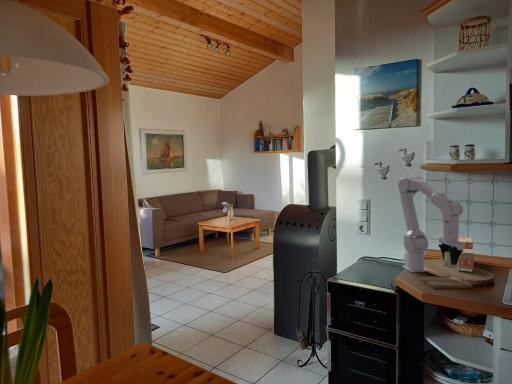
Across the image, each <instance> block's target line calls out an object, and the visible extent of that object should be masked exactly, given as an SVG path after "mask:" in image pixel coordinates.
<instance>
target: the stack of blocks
mask: <svg viewBox="0 0 512 384" xmlns="http://www.w3.org/2000/svg"><path fill="white" fill-rule="evenodd" d="M458 241H461V243H460V244H462V245H463V252H462V253H461V255H460V257H459V259H458V264H457V268H458V267H459V268H465V269H473V270H474V265H475V251H474V249H473V248H474V242H473V240H472V237H468V236H467V237H466V236H465V237H464V236H458Z"/></svg>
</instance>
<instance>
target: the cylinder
mask: <svg viewBox="0 0 512 384" xmlns="http://www.w3.org/2000/svg"><path fill="white" fill-rule="evenodd" d="M443 262H444V263H443V266H444V267H445V268H450V269H458V264H457V265H451V259H450V253H449V251H445V256H444V260H443Z"/></svg>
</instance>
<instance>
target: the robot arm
mask: <svg viewBox="0 0 512 384" xmlns="http://www.w3.org/2000/svg"><path fill="white" fill-rule="evenodd" d="M397 187H398V190H399V191H398V192H399V197H400V203H401V208H402V212H403V216H404V222H405V226H406V231H407V232H406V233H405V234H404V235H403V247H404V249H405V250H406V251H405V252H404V261H403V262H404V263H403V264H404V265H402V267H403V268H404V269H405V270H407V271H408V272H410V273H425V272H427V273H428V270H427V269H426V270H427V271H426V270H424V269H425V252H426V250H427V249H428V247H429V241H428V239H427V237H426V234H425V232H423V231H422V230H421V229H420V225H419V221H418V220H419V219H418V216H417V212H416V207H415V202H414V196H415V195H416V194H417V193H418V192H420V193H422V194H424V195H425V196H426V197H428V198H429V199H430V202H431V204H433V206H435V207H436V208H437V209H439V210H440V214H441V215H442V220H443V231H442V232H443V233H442V234H443V236H442V237H439V238H438V242H439V244H438V248H439V250H440V252H441V255H442V259H443V261H444V256H445V251H449V253H450V259H451V265H457V266H458V264H457V262H458V259H459V257H460V255H461V253H462V252H463V245H462V244H460V243H461V241H458V237H460V236H459V233H460V232H459V231H460V230H459V229H460V228H459V227H460V216H461V215H462V213H463V206H462V205H461V203H460V202H458V201H456V202H455V201H453V200H452V199H451V198H448V197H447V196H445V193H444V192H440V191H438V192H436V191H435V190H434V189H433V188H432V187H430V186H429V185H428V184H427V183H426V182H425V179H423V177H421V176H410V177H408V176H404V177H401V178H400V179H399V181H398V183H397Z"/></svg>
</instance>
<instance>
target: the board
mask: <svg viewBox="0 0 512 384" xmlns="http://www.w3.org/2000/svg"><path fill="white" fill-rule="evenodd" d="M446 276H447V275H436V276H434V275H433V276H420V277H419V281H421V282H423V283H424V284H426V285H427V286H429V287H430V288H432V289H434V290H443V289H444V290H445V289H464V288H466V289H467V288H468V289H469V288H473V284H472V283H471V282H469V281H467V280H465V281H464V282H463V281H462V282H461V281H457V280H454V279H451V278H449V277H446Z"/></svg>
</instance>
